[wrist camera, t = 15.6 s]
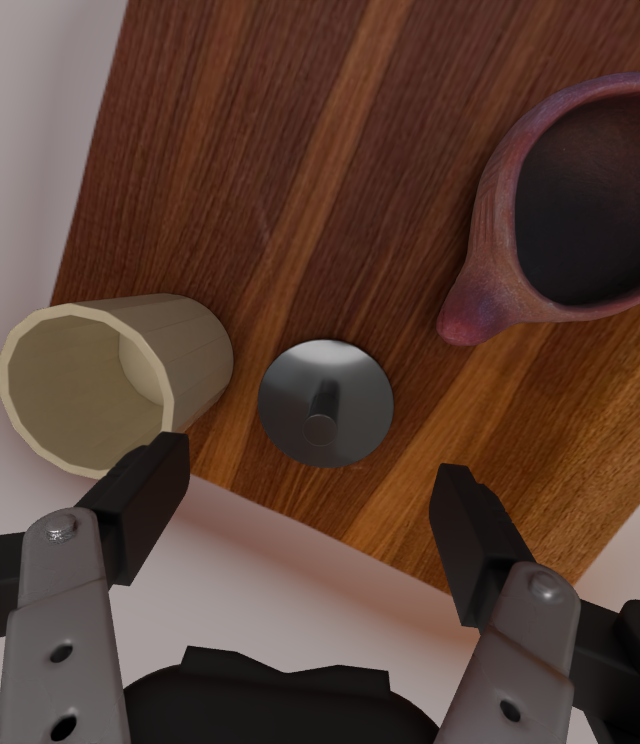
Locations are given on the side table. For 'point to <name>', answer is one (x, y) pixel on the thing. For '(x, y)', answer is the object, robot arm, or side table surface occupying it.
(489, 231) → the bowl
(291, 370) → the lid
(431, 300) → the side table surface
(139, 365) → the jar
